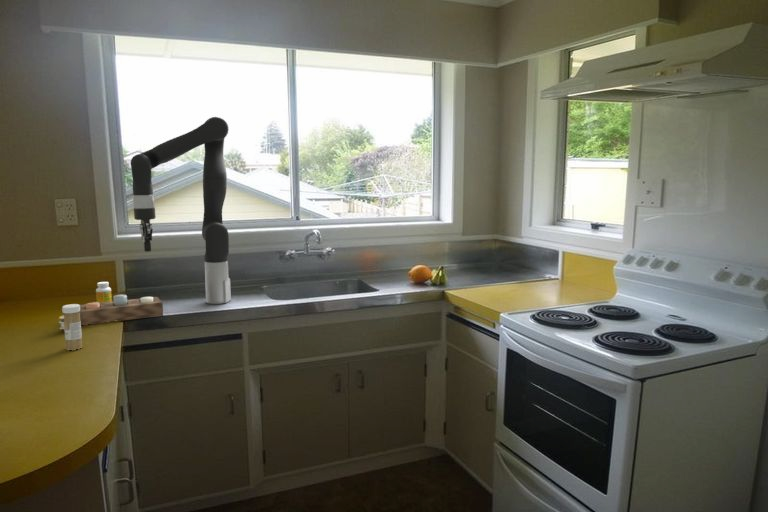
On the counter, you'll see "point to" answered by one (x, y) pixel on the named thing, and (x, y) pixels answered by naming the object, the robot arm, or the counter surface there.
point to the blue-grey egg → (120, 300)
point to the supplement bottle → (103, 292)
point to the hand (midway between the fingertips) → (147, 251)
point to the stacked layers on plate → (62, 322)
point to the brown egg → (92, 305)
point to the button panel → (121, 311)
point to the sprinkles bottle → (72, 326)
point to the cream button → (146, 299)
